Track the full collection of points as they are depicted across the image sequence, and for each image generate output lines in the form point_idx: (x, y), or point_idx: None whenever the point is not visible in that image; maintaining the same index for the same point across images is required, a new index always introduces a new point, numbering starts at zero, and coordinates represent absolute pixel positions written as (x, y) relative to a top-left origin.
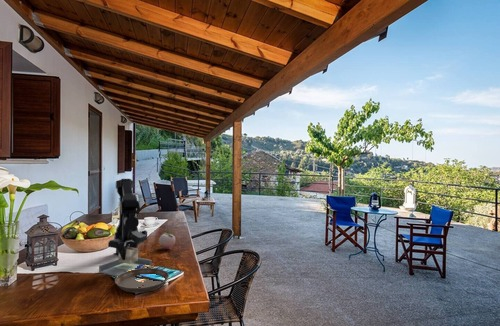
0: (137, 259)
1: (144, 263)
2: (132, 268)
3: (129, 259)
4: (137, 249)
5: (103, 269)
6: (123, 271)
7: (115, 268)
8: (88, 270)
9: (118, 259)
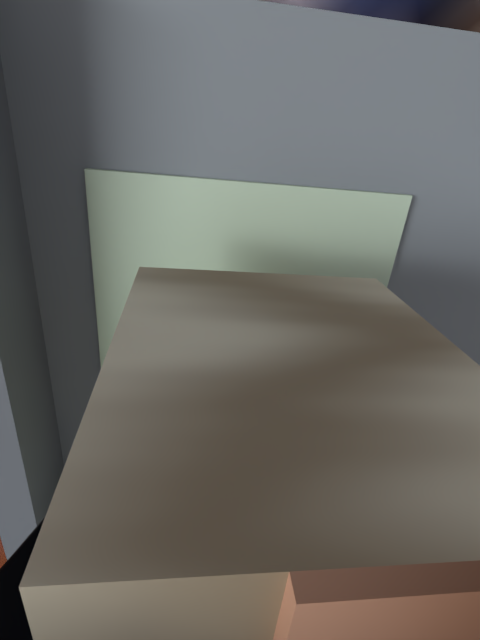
0: (148, 281)
1: (7, 171)
2: (319, 214)
3: (423, 333)
4: (110, 509)
5: None
6: (458, 258)
7: None
8: None
9: None
